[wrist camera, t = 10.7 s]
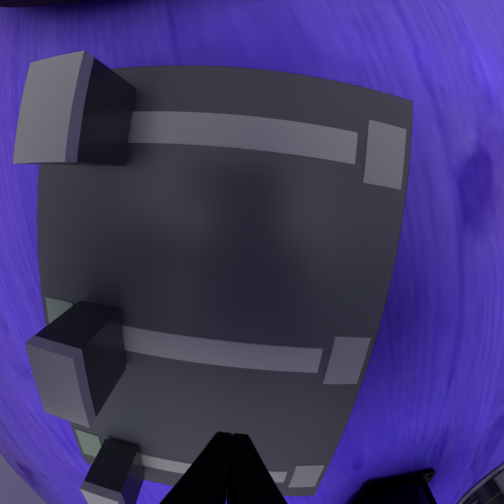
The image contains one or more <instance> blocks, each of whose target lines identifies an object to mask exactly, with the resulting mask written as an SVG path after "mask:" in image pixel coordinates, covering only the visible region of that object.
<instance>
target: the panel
mask: <svg viewBox="0 0 504 504" xmlns="http://www.w3.org/2000/svg"><path fill="white" fill-rule="evenodd" d="M111 70H112V71H114V72H115V73H116V74H118V75H119V76H121V77H122V78H123V79H125V80H126V81H127V82H129V83H130V84H131V85H133V86H134V87H135V88H136V90H135V96H134V102H133V108H132V115H131V122H130V129H129V137H128V145H127V154H126V164H125V166H79V165H54V164H39V178H38V202H37V234H38V257H39V271H40V282H41V292H42V300H43V308H44V315H45V321H46V326H47V325H49V324H50V323H51V322H52V321H54V320H55V319H56V318H57V317H59V316H60V315H61V314H63V313H64V312H65V311H67V310H68V309H69V308H70V307H72V306H73V305H74V304H76V303H77V302H78V301H85V302H90V303H95V304H100V305H106V306H111V307H117V308H121V317H122V333H123V345H124V356H125V366H126V370H125V372H124V373H123V375H122V376H121V378H120V379H119V381H118V383H117V384H116V386H115V388H114V389H113V391H112V392H111V394H110V396H109V397H108V399H107V400H106V402H105V404H104V405H103V407H102V409H101V410H100V412H99V414H98V415H97V417H96V419H95V420H94V422H93V424H92V425H91V427H90V428H88V427H85V426H82V425H79V424H76V423H74V422H71V421H70V423H71V426H72V429H73V432H74V435H75V438H76V440H77V443H78V446H79V448H80V451H81V454H82V456H83V458H84V461H85V462H86V463H89V464H93V462H94V460H95V458H96V456H97V454H98V452H99V450H100V448H101V446H102V444H103V442H104V440H105V438H106V439H109V440H113V441H116V442H120V443H123V444H127V445H131V446H135V447H139V452H140V457H141V461H142V466H143V470H144V474H145V477H144V480H148V481H152V482H157V483H161V484H166V485H171V486H175V484H176V483H177V482H178V481H179V479H180V478H181V477H182V476H183V474H184V473H185V472H186V471H187V469H188V468H189V467H190V466H191V464H192V463H193V462H194V461H195V459H196V458H197V457H198V455H199V454H200V453H201V452H202V450H203V449H204V448H205V446H206V445H207V444H208V442H209V441H210V440H211V438H212V437H213V436H214V434H215V433H216V432H218V431H222V432H230V433H232V436H233V434H234V433H243V434H248V435H249V436H250V438H251V440H252V442H253V444H254V446H255V447H256V449H257V451H258V453H259V455H260V457H261V458H262V460H263V462H264V464H265V466H266V467H267V469H268V471H269V473H270V475H271V476H272V478H273V480H274V482H275V483H276V485H277V487H278V488H279V490H280V492H281V494H282V495H283V496H308V495H314V494H315V492H316V490H317V488H318V486H319V484H320V482H321V480H322V478H323V476H324V474H325V472H326V470H327V468H328V466H329V463H330V461H331V459H332V457H333V455H334V452H335V450H336V448H337V446H338V443H339V441H340V439H341V436H342V434H343V432H344V429H345V427H346V424H347V422H348V419H349V417H350V414H351V411H352V409H353V406H354V404H355V401H356V398H357V395H358V393H359V390H360V387H361V384H362V381H363V378H364V375H365V372H366V369H367V366H368V363H369V360H370V357H371V354H372V350H373V347H374V344H375V340H376V337H377V333H378V330H379V326H380V323H381V319H382V315H383V311H384V307H385V303H386V299H387V295H388V291H389V287H390V282H391V278H392V273H393V268H394V263H395V258H396V253H397V248H398V242H399V237H400V231H401V225H402V218H403V212H404V205H405V197H406V189H407V181H408V171H409V161H410V148H411V133H412V108H413V101H410V100H407V99H404V98H401V97H397V96H394V95H391V94H387V93H384V92H380V91H376V90H372V89H368V88H364V87H360V86H356V85H352V84H347V83H343V82H338V81H333V80H328V79H323V78H318V77H312V76H306V75H300V74H293V73H286V72H279V71H270V70H261V69H251V68H239V67H223V66H147V67H131V68H119V69H111Z"/></svg>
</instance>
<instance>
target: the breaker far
mask: <svg viewBox="0 0 504 504" xmlns="http://www.w3.org/2000/svg"><path fill="white" fill-rule="evenodd" d="M144 477H145V474H144V470H143V466H142V461H141V457H140V452H139V447H135V446H131V445H127V444H123V443H120V442H116V441H113V440H109V439H106V438H105V440H104V442H103V444H102V446H101V448H100V450H99V452H98V454H97V456H96V458H95V460H94V462H93V464H92V466H91V468H90V470H89V472H88V474H87V476H86V478H85V480H84V482H83V484H82V486H81V488H80V490H81V491H82V493H83V495H84V497H85V499H86V500H87V502H88V504H136V501H137V498H138V495H139V492H140V489H141V486H142V483H143V480H144Z"/></svg>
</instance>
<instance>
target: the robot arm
mask: <svg viewBox="0 0 504 504" xmlns="http://www.w3.org/2000/svg"><path fill="white" fill-rule="evenodd" d="M435 474H436V472H435V470H434V469H428V470H424V471H420V472H416V473H411V474H407V475H402V476H397V477H391V478H386V479H380V480H373V481H369V482H367V483H365V484H364V485H363V486H362V488H361V489H360V491H359V492H358V494H357V495H356V497H355V498H354V500H353V501H352V503H351V504H437V503H436V501H435V499H434V497H433V494H432V492H431V490H430V488H429V486H428V483H429V482H430V480H431V479H432V478H433V476H434V475H435ZM226 496H227V504H287V502H286V500H285V499H284V497H283V495H282V494H281V492H280V490H279V488H278V487H277V485H276V483H275V482H274V480H273V478H272V476H271V475H270V473H269V471H268V469H267V467H266V466H265V464H264V462H263V460H262V458H261V457H260V455H259V453H258V451H257V449H256V447H255V446H254V444H253V442H252V440H251V438H250V436H249V435H248V434H243V433H234V434H233V436H232V433H230V432H222V431H218V432H216V433H215V434H214V436H213V437H212V438H211V440H210V441H209V442H208V444H207V445H206V446H205V448H204V449H203V450H202V452H201V453H200V454H199V455H198V457H197V458H196V459H195V461H194V462H193V463H192V464H191V466H190V467H189V468H188V469H187V471H186V472H185V473H184V474H183V476H182V477H181V478H180V479H179V481H178V482H177V483H176V484H175V486H174V487H173V488H172V489H171V490H170V492H169V493H168V494H167V495H166V496H165V498H164V499H163V500H162V501H161V502H160V503H159V504H225V503H226Z"/></svg>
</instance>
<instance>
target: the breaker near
mask: <svg viewBox="0 0 504 504" xmlns="http://www.w3.org/2000/svg"><path fill="white" fill-rule="evenodd" d="M135 90H136V88H135V87H134V86H133V85H131V84H130V83H129V82H127V81H126V80H125V79H123V78H122V77H121V76H119V75H118V74H116V73H115V72H114V71H112V70H111V69H110V68H108V67H107V66H105V65H104V64H103V63H101V62H100V61H98V60H97V59H96V58H94V57H93V56H91V55H90V54H89V53H87V52H86V51H79V52H73V53H69V54H64V55H59V56H55V57H51V58H47V59H43V60H39V61H35V62H32V63H30V66H29V70H28V74H27V78H26V82H25V87H24V91H23V96H22V101H21V106H20V112H19V118H18V124H17V131H16V139H15V148H14V158H13V164H54V165H79V166H125V164H126V154H127V145H128V137H129V129H130V122H131V115H132V108H133V102H134V96H135Z"/></svg>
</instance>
